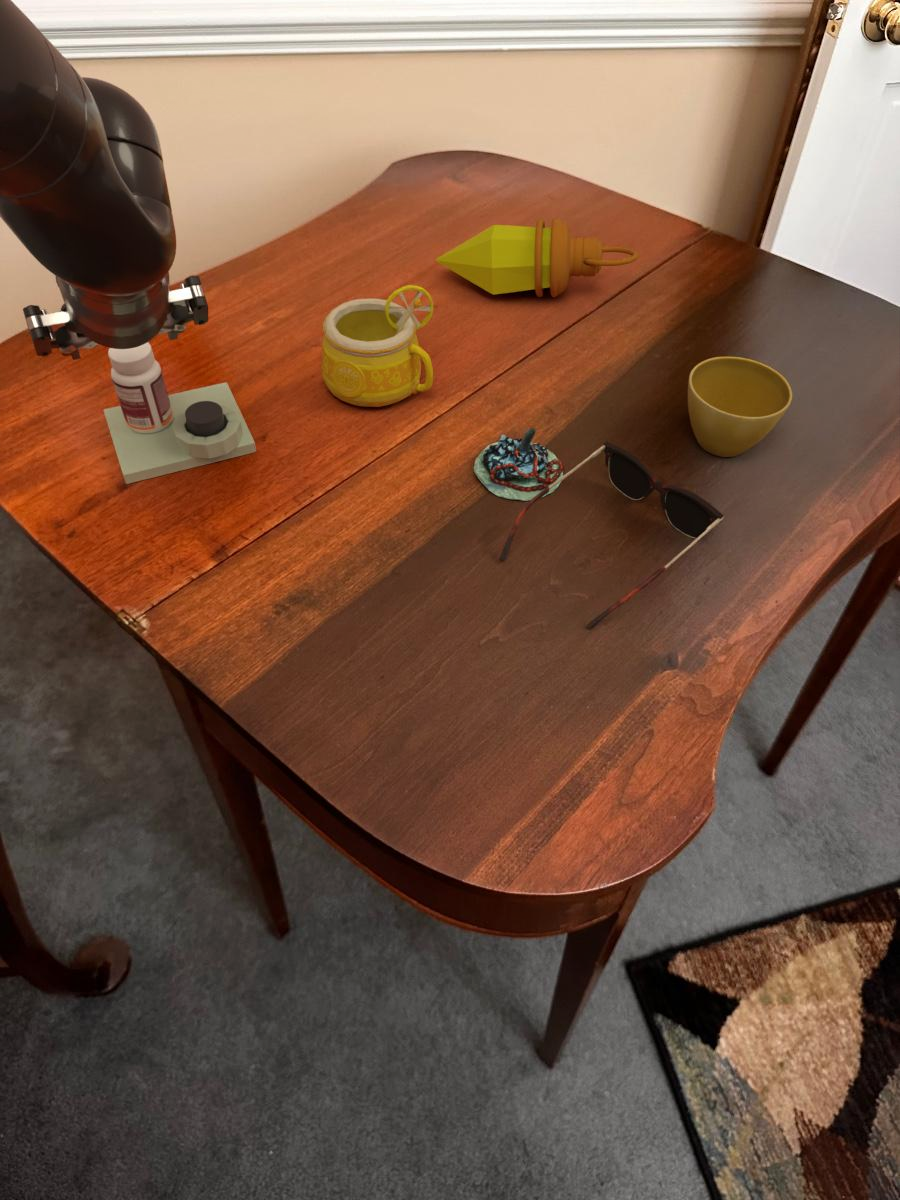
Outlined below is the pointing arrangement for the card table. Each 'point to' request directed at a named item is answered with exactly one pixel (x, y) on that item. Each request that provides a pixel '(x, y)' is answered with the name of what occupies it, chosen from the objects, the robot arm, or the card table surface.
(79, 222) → the robot arm
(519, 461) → the dish
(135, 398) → the pill bottle
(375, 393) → the mug
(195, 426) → the button
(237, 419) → the scale
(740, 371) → the flower pot
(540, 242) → the plumb bob
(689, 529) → the sunglasses
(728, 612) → the card table surface
